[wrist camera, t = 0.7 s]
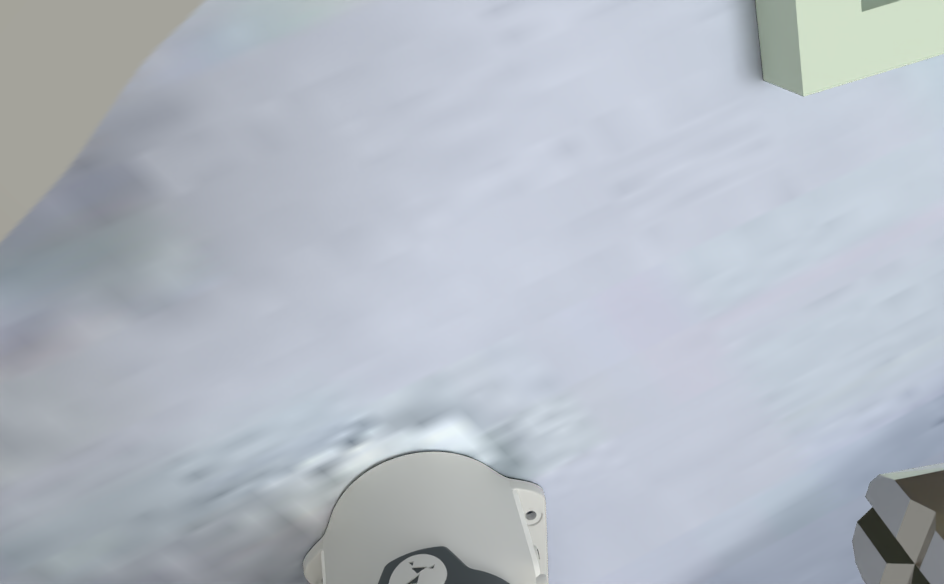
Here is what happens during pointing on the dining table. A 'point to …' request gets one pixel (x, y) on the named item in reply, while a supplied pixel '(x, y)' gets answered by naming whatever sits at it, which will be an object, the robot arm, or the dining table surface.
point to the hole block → (844, 39)
